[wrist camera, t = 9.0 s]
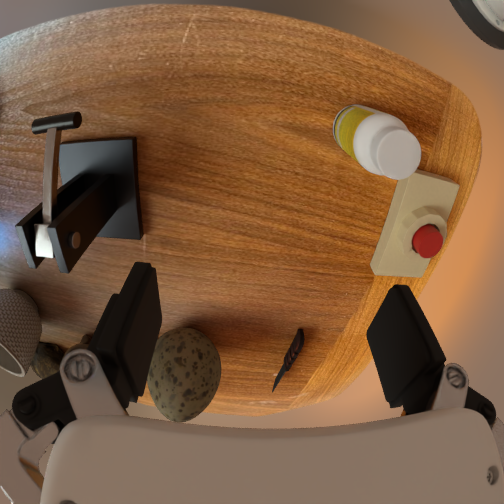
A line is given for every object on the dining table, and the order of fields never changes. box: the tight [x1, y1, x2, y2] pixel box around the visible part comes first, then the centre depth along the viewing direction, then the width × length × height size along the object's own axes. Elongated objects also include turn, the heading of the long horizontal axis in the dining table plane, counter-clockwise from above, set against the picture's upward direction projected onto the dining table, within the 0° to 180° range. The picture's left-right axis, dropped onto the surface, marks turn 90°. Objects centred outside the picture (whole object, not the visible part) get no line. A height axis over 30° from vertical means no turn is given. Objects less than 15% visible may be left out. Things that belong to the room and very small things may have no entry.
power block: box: [370, 169, 460, 277], centre depth 30 cm, size 14×8×4 cm, turn 175°
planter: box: [0, 289, 42, 377], centre depth 35 cm, size 14×14×13 cm
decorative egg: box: [147, 328, 221, 422], centre depth 37 cm, size 11×11×15 cm
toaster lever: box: [32, 112, 82, 258], centre depth 19 cm, size 12×5×2 cm, turn 174°
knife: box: [272, 329, 304, 392], centre depth 46 cm, size 17×1×3 cm, turn 167°
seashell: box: [30, 342, 64, 379], centre depth 47 cm, size 16×9×7 cm, turn 92°
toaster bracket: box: [15, 137, 143, 274], centre depth 24 cm, size 12×10×13 cm
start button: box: [412, 224, 443, 258], centre depth 28 cm, size 4×4×2 cm
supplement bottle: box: [333, 105, 421, 180], centre depth 22 cm, size 5×5×10 cm
